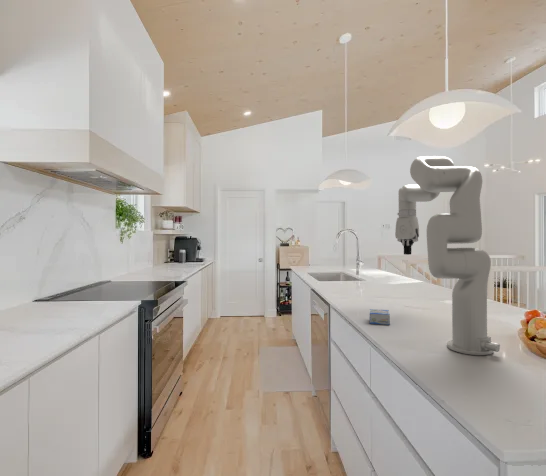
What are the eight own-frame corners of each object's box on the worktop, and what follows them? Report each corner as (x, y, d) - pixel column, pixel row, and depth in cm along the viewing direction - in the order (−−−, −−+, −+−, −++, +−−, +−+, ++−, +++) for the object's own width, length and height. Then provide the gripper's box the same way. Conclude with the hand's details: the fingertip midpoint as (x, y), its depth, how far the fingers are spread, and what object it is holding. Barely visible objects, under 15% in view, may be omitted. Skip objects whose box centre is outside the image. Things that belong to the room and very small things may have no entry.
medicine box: (388, 309, 148) (390, 314, 140) (389, 320, 148) (390, 325, 140) (369, 309, 150) (369, 313, 142) (369, 319, 150) (369, 324, 142)
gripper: (388, 215, 166) (389, 254, 166) (415, 213, 153) (415, 255, 153) (400, 215, 169) (400, 253, 170) (426, 213, 156) (427, 254, 156)
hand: (407, 254), depth 161 cm, fingers closed
